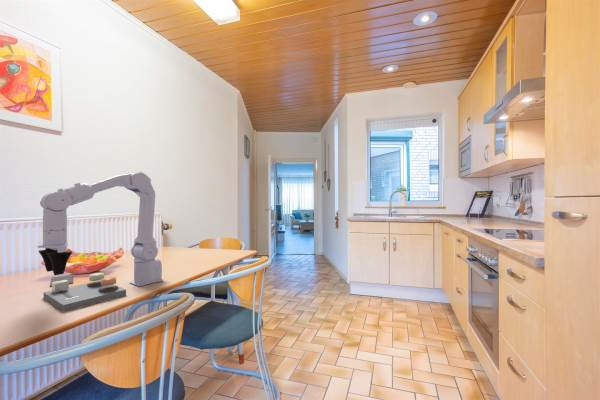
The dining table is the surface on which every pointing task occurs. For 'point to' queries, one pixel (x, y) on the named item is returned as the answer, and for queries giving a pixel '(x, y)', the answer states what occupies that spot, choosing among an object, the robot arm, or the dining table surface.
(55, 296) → the control panel
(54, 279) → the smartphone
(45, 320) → the dining table surface
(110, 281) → the terracotta button
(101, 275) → the sage button
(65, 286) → the slider knob
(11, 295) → the dining table surface
